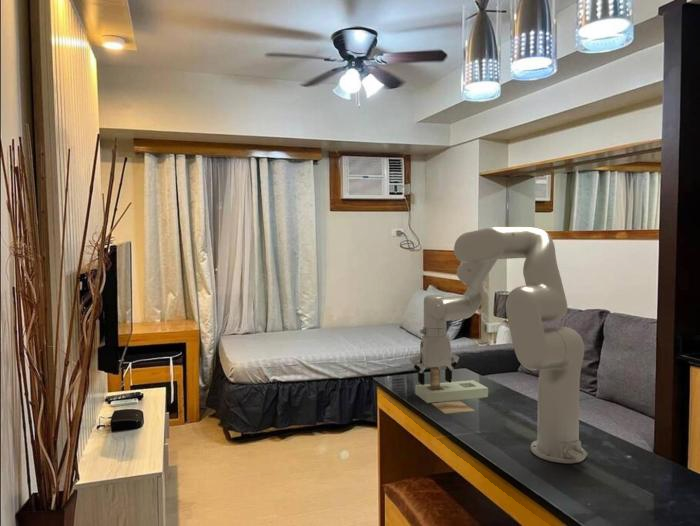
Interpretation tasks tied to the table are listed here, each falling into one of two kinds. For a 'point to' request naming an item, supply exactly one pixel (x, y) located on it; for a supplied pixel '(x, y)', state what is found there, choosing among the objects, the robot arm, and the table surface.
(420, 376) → the robot arm
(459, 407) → the cork mat
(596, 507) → the table surface
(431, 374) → the peg
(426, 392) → the hole block
